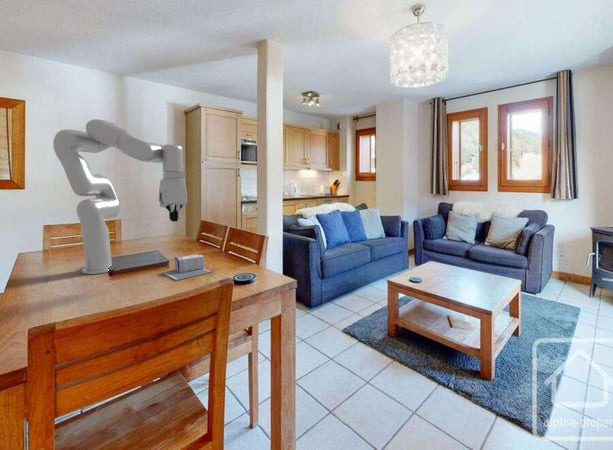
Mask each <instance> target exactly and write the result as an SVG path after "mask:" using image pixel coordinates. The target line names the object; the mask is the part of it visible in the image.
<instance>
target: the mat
mask: <svg viewBox="0 0 613 450" xmlns="http://www.w3.org/2000/svg"><path fill="white" fill-rule="evenodd" d="M211 273H213V271H212V270H208V269H207V268H202V269H196V270H190V271H185V272H178V271H177V270H176V269H172V270H169V271H168V270H167V271H163V272H161V275H163V276H165V277H166V278H169V279H171V280H173V281H175V282H179V281H183V280H187V279H190V278H194V277H200V276H203V275H207V274H211Z"/></svg>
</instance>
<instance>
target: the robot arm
mask: <svg viewBox="0 0 613 450" xmlns="http://www.w3.org/2000/svg"><path fill="white" fill-rule="evenodd" d="M52 143H53V144H52V145H53V150H54V153H55V155H56V157H57V159H58V160H59V162H60V164H61V166H62V168H63V170H64V173H65V175H66V177H67V180H68V182H69V185H70V187H71V191H73V193H74V194H75V195H76V196H79V197H94V198H86V199H83V200H81V201H80V202H78V204H77V206H76V214H77V217H78V219H79V223H80V228H81V236H82V243H83V244H82V245H83V253H84V255H83V256H84V262H85V263H84V264H85V267H83V268H82V269H81V273H82V274H86V275H98V274H103V273H104V274H105V273H109V272H110V271H109V269H108V268H109V267H110V266H112V264H113V262H112V254H111V253H112V251H111V241H110V232H109V227H108V225H107V223H106V221H105V220H108V219H112V218H116V217H118V216H119V215H120V213H121V203H120V201H119V199H118V195H117V193H116V190H115V188H114V186H113V183H112V182H111V180H110V179H109V178H108V177H107V176H105V175H103V174H96V173H92V171H91V170H90V168H89V165H88V162H87V161H86V159H84V157H83V156H82V155H80V153H79V152H81V153H92V154H96V153H100V152H103V151H106V150H108V149H110V148H111V147H112V148H114V149H117V150H119V151H120V152H121V153H122V154H124V155H126V156H128V157H131V158H132V159H135V160H138V161H141V162H145V163H154V164H155V163H156V164H162V179H161V178H160V181H159V188H158V202H159V207H161V208H165V209H166V210H167V211H168V212H169V213H168V215H169V220H170V221H171V222H178V221H179V220H178V219H179V212H180V211H181V209H182V208H185V207H187V205H188V204H187V203H188V191H187V190H188V189H187V185H186V180H185V179H184V178H187V173H184V149H183V147H182V146H181V145H178V144H169V143H168V144H158V143H153V142H147V141H145V140H142V139H140V138H137V137H133V135H132V133H131V132H130V131H129V130H128V129H125V128H123V127H122V126H121V125H119V124H117V123H115V122H112V121H108V120H104V119H99V118H97V119H91V120H89V121H88V122H87V123H86V125H85V131H83V130H78V129H77V130H76V129H62V130H60V131H58V132H56V134H55V136H54V138H53V142H52ZM108 271H109V272H108Z"/></svg>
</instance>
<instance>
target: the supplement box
mask: <svg viewBox="0 0 613 450" xmlns="http://www.w3.org/2000/svg"><path fill="white" fill-rule="evenodd" d="M174 264H175V266H174V267H175V270H177V271H178V272H185V271H190V270H196V269H202V268H205V267H206V266H205V256H204V255H203V254H202V253H197V254H196V253H195V254H191V255H183V256H175V257H174ZM205 269H206V268H205Z"/></svg>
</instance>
